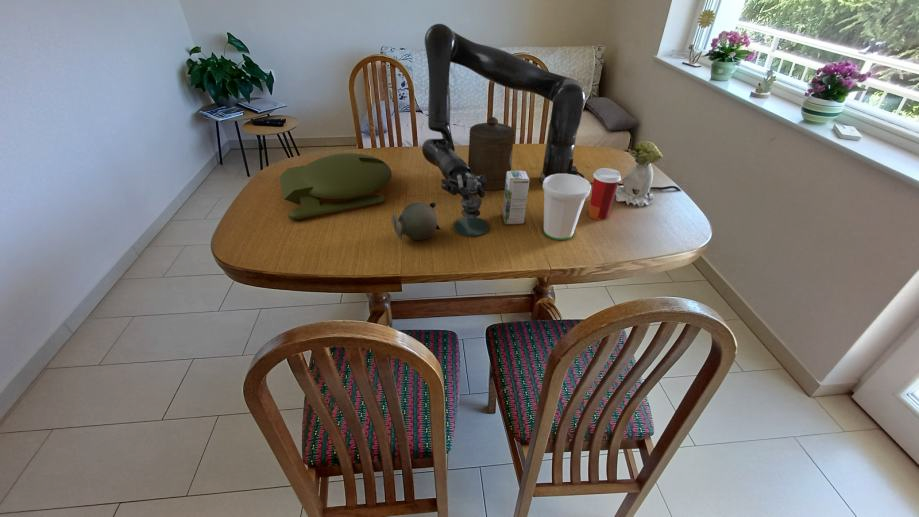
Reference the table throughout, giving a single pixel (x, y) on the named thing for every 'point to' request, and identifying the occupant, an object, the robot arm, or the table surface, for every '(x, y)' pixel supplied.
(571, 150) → the robot arm
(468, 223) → the coaster
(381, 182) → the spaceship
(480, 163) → the wooden container
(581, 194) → the cup
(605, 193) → the paper cup
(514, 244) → the table surface
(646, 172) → the white green figurine
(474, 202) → the stone chess piece
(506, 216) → the syrup box
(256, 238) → the table surface
